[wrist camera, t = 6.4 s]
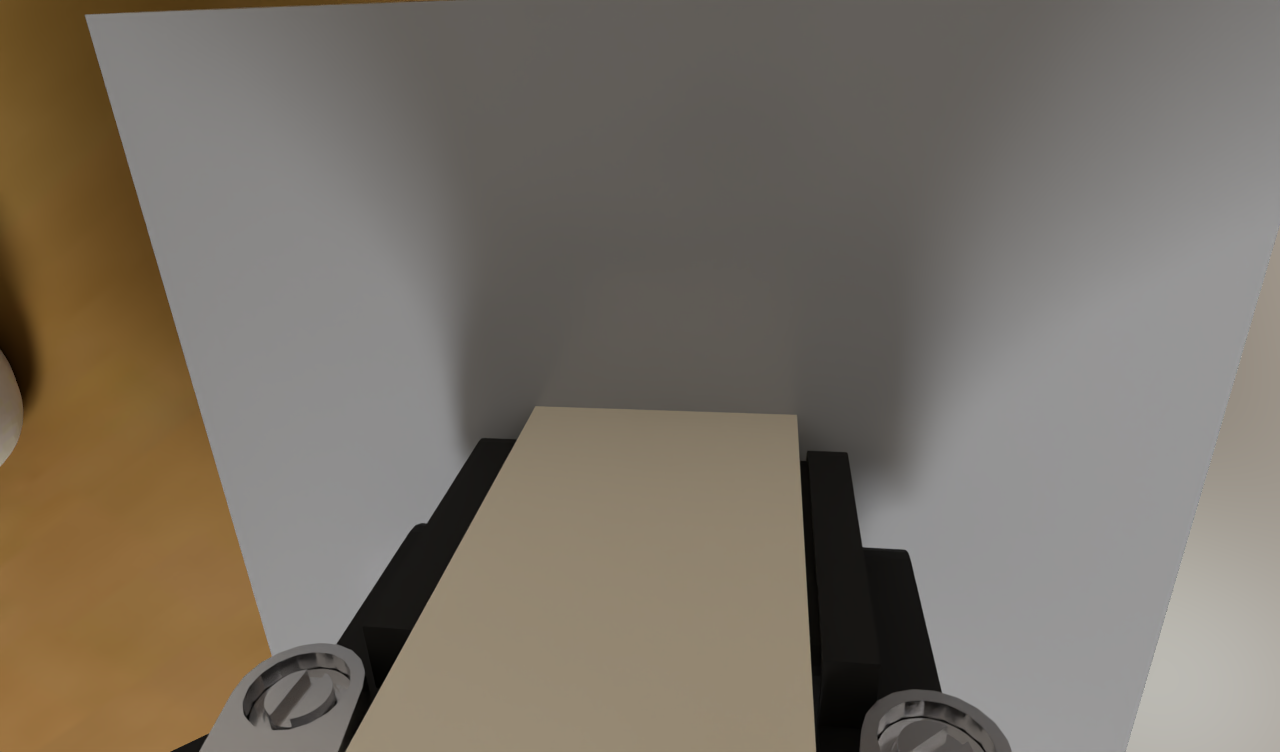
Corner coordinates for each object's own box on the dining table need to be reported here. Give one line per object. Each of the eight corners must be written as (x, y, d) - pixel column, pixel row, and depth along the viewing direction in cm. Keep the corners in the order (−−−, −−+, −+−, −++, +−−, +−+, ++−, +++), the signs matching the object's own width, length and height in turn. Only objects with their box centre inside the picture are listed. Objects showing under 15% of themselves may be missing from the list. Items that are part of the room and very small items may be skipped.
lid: (1051, 783, 16) (1276, 1434, 9) (360, 720, 18) (89, 1209, 11) (1252, -32, 10) (2426, -53, 3) (187, 9, 12) (-667, 56, 5)
